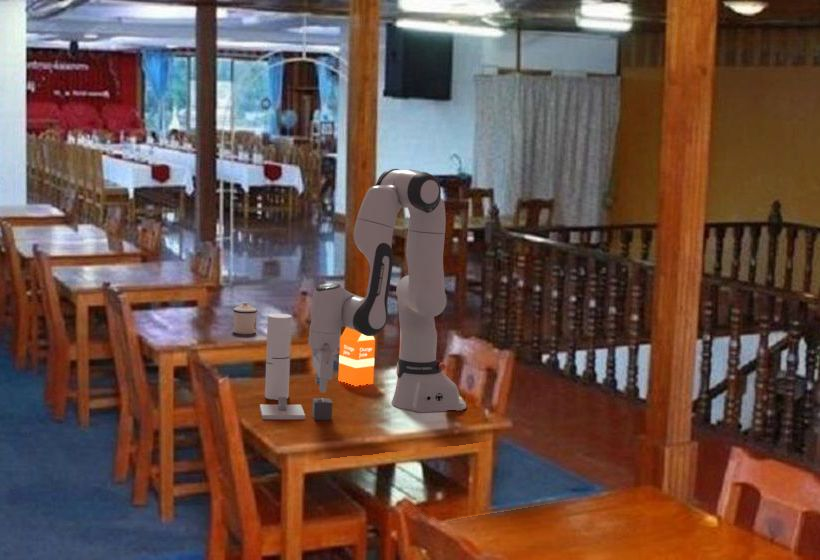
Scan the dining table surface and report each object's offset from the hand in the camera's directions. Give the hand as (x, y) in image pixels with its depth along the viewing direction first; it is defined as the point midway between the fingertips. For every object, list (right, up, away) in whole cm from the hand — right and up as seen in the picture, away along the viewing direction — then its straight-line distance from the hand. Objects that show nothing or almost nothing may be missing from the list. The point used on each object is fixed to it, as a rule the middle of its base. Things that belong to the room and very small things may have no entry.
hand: (320, 388), depth 342 cm
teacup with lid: (-39, +11, +122) cm, 129 cm away
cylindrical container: (-15, -5, +23) cm, 28 cm away
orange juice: (+8, -3, +47) cm, 48 cm away
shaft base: (-11, -8, +3) cm, 14 cm away
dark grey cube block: (0, -9, +2) cm, 9 cm away
